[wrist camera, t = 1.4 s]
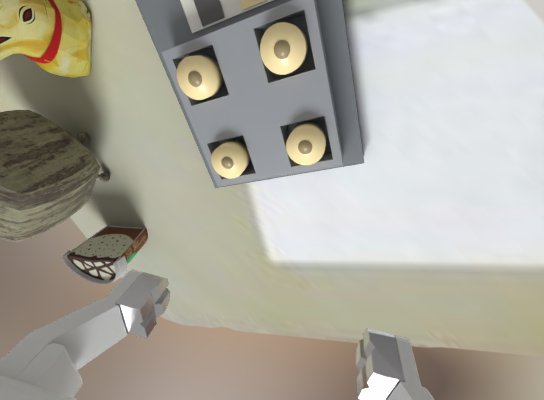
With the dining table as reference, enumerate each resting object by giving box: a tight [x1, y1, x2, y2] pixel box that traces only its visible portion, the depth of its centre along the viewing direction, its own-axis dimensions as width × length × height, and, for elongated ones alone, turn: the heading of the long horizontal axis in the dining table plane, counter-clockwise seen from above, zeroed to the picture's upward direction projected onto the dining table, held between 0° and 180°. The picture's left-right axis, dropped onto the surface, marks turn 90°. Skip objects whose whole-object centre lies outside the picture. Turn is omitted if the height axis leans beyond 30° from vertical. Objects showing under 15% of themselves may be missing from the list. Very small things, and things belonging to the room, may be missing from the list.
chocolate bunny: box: [0, 0, 92, 78], centre depth 30 cm, size 7×11×15 cm, turn 154°
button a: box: [286, 122, 326, 165], centre depth 31 cm, size 4×4×2 cm
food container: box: [61, 226, 148, 284], centre depth 51 cm, size 12×6×10 cm, turn 96°
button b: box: [211, 140, 250, 179], centre depth 34 cm, size 4×4×2 cm
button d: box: [177, 55, 223, 100], centre depth 30 cm, size 4×4×2 cm
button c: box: [260, 22, 308, 75], centre depth 27 cm, size 4×4×2 cm
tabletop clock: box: [0, 110, 110, 242], centre depth 35 cm, size 14×9×25 cm, turn 53°
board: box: [136, 0, 364, 188], centre depth 32 cm, size 22×26×5 cm
